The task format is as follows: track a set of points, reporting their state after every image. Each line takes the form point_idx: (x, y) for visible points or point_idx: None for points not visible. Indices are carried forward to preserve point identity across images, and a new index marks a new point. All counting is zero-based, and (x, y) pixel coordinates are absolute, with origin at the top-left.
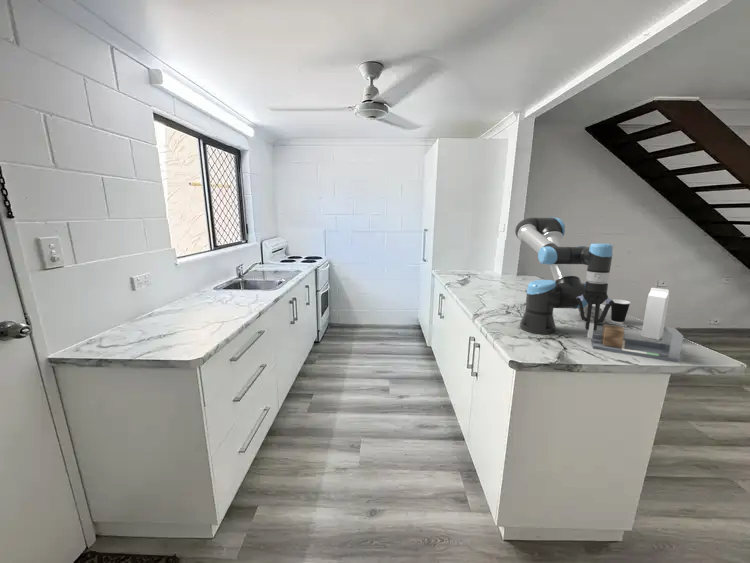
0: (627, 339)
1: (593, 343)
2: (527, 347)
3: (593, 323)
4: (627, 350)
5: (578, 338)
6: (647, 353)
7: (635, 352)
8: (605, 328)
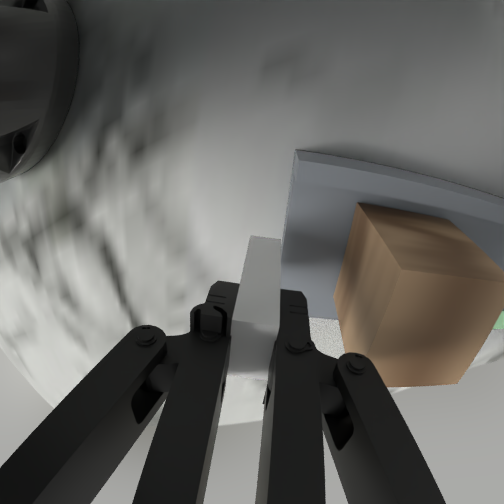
0: (498, 222)
1: (283, 275)
2: (40, 347)
3: (261, 379)
4: None
5: (214, 137)
6: None
7: None
8: None
